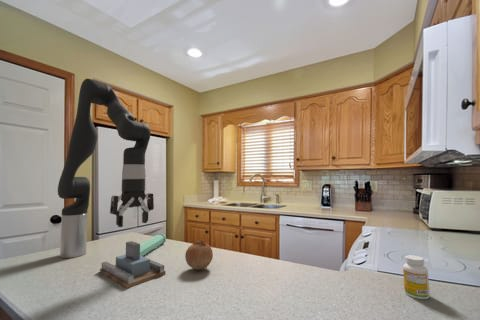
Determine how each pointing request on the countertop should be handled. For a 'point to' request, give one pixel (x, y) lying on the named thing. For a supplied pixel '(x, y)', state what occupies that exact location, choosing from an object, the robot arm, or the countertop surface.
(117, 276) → the tray
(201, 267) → the onion
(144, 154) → the robot arm
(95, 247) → the countertop surface
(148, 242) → the mint green cylinder
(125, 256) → the blue block with handle
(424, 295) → the supplement bottle
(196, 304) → the countertop surface
